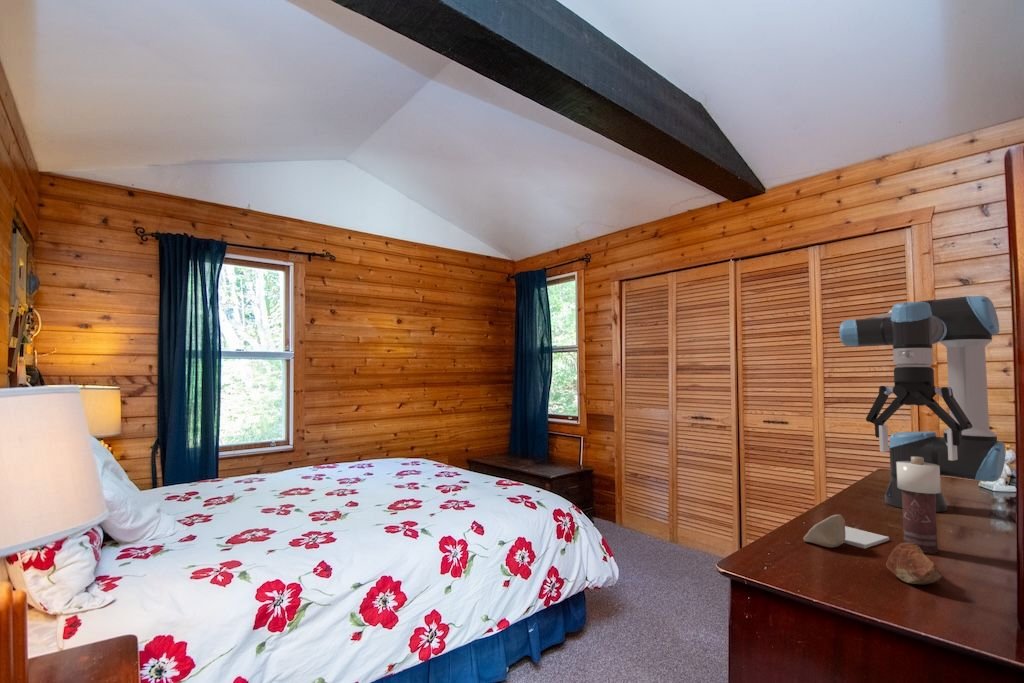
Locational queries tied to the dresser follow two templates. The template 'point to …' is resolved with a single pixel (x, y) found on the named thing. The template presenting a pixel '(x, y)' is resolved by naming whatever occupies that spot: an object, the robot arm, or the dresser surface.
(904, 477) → the cloche
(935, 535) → the can
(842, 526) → the stone
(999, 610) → the dresser surface
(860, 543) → the mat
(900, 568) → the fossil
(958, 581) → the dresser surface
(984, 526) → the dresser surface
